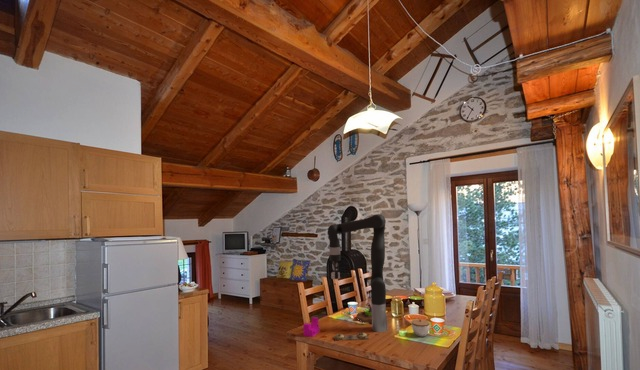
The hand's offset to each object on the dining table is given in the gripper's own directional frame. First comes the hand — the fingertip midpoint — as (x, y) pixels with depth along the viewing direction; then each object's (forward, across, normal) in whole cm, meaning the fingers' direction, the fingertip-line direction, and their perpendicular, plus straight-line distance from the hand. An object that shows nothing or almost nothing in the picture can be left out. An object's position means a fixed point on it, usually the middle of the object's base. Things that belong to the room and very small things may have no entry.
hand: (335, 277), depth 244 cm
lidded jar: (+32, -27, -49) cm, 65 cm away
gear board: (+32, -27, -5) cm, 42 cm away
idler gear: (+1, -2, 0) cm, 2 cm away
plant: (+33, +9, -25) cm, 42 cm away
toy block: (+32, -13, +17) cm, 39 cm away
